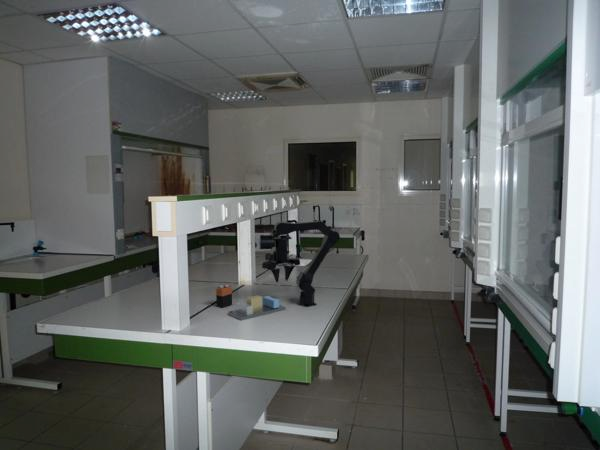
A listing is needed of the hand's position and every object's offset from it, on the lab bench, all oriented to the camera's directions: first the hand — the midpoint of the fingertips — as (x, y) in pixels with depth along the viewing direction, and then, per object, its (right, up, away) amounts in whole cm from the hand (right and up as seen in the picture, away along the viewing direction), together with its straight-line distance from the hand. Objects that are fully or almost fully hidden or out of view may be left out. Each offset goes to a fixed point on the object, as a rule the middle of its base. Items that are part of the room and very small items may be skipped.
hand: (281, 281), depth 197 cm
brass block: (-12, -12, -9) cm, 19 cm away
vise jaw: (-4, -11, -3) cm, 12 cm away
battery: (-28, -12, +3) cm, 30 cm away
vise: (-12, -13, -9) cm, 19 cm away
